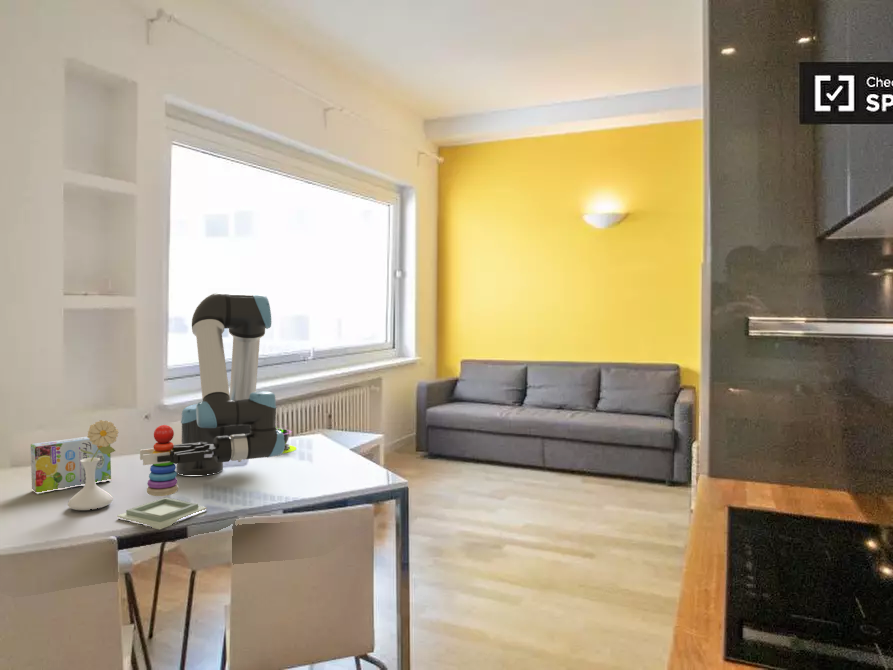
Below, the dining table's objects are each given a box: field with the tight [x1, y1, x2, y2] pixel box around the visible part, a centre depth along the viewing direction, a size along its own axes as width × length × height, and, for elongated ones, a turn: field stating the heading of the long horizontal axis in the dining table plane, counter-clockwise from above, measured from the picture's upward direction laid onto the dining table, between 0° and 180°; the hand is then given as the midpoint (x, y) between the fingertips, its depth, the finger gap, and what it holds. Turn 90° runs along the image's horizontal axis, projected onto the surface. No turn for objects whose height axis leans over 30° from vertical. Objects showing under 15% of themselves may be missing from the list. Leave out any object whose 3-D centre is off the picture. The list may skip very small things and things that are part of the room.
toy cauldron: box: [276, 423, 297, 454], centre depth 258 cm, size 15×15×11 cm
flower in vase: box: [67, 419, 119, 511], centre depth 185 cm, size 13×11×25 cm
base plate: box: [117, 496, 207, 530], centre depth 179 cm, size 16×16×2 cm
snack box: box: [30, 436, 112, 492], centre depth 204 cm, size 21×6×15 cm, turn 134°
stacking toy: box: [146, 424, 179, 497], centre depth 178 cm, size 8×8×19 cm
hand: (141, 457), depth 175 cm, fingers closed on stacking toy, 6 cm apart
